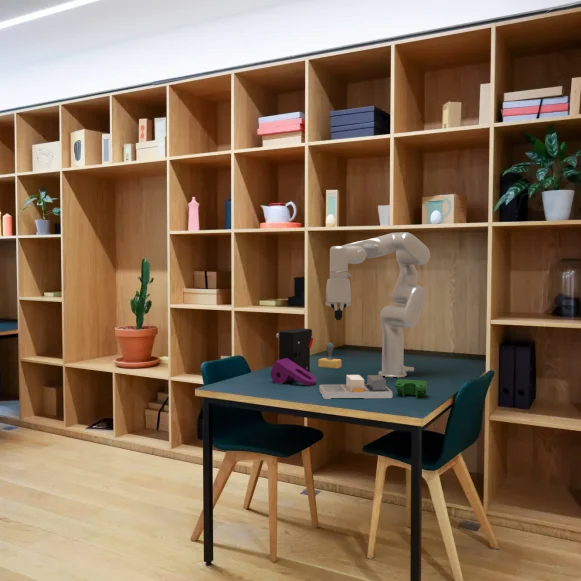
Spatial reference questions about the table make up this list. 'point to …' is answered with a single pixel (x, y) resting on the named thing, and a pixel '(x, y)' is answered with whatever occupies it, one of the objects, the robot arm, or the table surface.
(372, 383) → the grey compartment tray
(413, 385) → the clamp
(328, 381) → the table surface
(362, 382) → the cream upright block
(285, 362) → the mounting bracket
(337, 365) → the rubber stamp
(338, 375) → the table surface
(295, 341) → the electrical component
